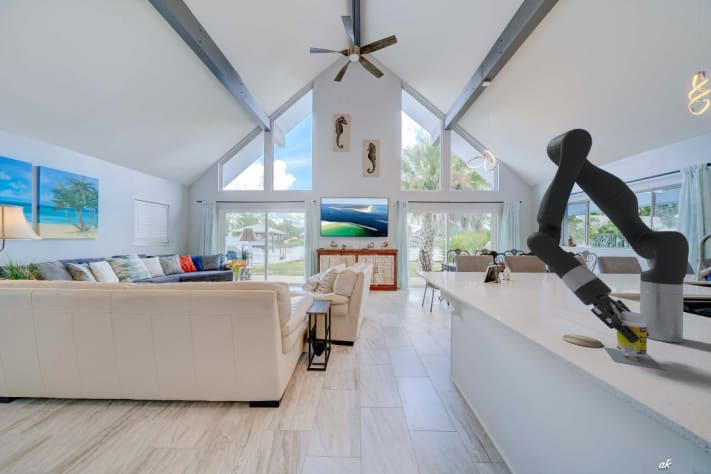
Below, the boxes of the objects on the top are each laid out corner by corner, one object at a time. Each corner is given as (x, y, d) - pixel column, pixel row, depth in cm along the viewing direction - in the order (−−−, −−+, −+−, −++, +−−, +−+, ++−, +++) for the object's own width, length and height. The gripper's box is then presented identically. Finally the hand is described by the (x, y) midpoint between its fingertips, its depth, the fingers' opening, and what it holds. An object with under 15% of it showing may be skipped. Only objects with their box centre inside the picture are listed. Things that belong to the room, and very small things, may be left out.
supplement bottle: (643, 359, 70) (643, 317, 70) (613, 351, 75) (613, 312, 75) (649, 354, 73) (649, 314, 73) (620, 347, 78) (621, 309, 78)
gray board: (603, 348, 81) (603, 346, 81) (647, 355, 76) (647, 353, 76) (614, 362, 71) (614, 361, 71) (665, 371, 67) (665, 369, 67)
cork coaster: (561, 334, 91) (561, 332, 91) (598, 339, 87) (598, 337, 87) (565, 343, 84) (565, 341, 84) (605, 349, 79) (605, 347, 79)
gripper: (584, 278, 77) (645, 336, 66) (607, 275, 84) (665, 327, 74) (561, 294, 81) (615, 351, 71) (585, 290, 89) (637, 341, 78)
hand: (640, 339), depth 72 cm, fingers closed on supplement bottle, 5 cm apart
